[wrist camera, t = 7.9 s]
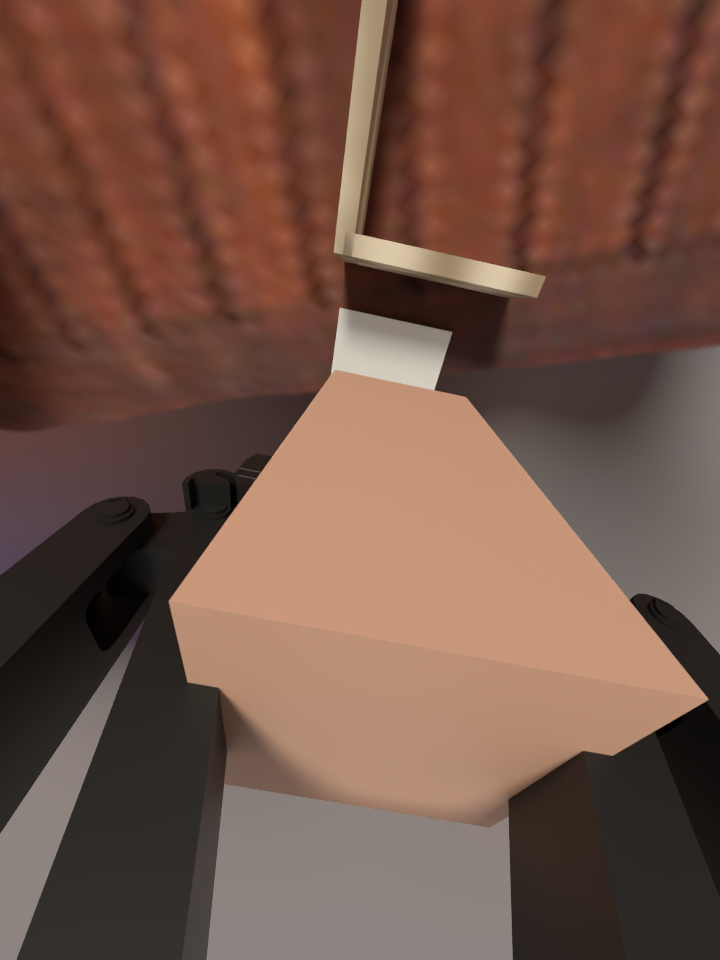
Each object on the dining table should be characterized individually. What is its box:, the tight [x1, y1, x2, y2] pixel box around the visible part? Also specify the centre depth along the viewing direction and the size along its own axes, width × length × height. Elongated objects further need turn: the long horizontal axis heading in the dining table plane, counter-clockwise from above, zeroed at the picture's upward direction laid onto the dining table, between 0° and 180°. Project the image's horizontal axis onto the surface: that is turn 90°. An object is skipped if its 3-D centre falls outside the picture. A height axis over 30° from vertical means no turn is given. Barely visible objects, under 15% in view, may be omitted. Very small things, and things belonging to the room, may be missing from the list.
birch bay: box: [334, 0, 546, 298], centre depth 16 cm, size 14×24×6 cm, turn 169°
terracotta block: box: [169, 370, 709, 827], centre depth 10 cm, size 6×6×12 cm
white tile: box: [331, 308, 452, 390], centre depth 29 cm, size 10×9×1 cm
